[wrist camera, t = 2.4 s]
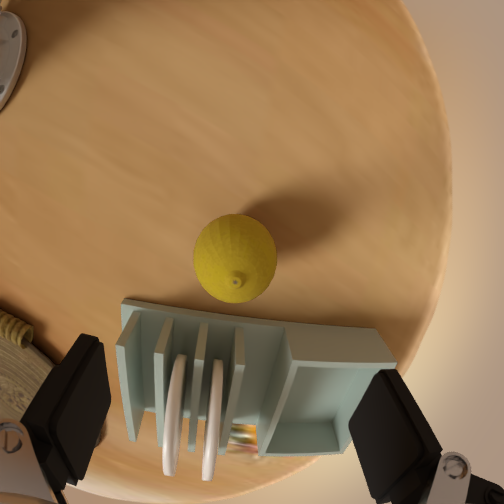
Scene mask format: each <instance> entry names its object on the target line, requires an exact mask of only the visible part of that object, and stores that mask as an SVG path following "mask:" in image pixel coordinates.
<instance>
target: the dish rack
mask: <svg viewBox="0 0 504 504" xmlns="http://www.w3.org/2000/svg"><path fill="white" fill-rule="evenodd" d="M121 318H122V333H121V335H120V337H119V339H118V341H117V343H116V354H117V364H118V372H119V380H120V388H121V395H122V401H123V408H124V414H125V420H126V425H127V430H128V436H129V441H134V442H136V440H137V436H138V433H139V429H140V425H141V421H142V417H143V414H144V410H145V411H150V412H155V413H156V424H157V438H158V447H163V471H164V475H168V476H175V473H176V468H177V462H178V456H179V448H180V440H181V432H182V423H183V417H184V418H190V422H189V438H188V451H190V452H195V444H196V433H197V423H198V419H199V420H206V422H205V434H204V446H203V462H202V480H205V481H212V479H213V475H214V469H215V463H216V455H217V446H218V455H225V452H226V448H227V443H228V439H229V435H230V430H231V426H232V423H237V424H251V425H256V433H257V446H258V456H315V455H331V454H342V453H343V452H344V451H345V449H346V448H347V447H348V445H349V444H350V442H351V441H352V437H351V434H350V431H349V428H348V423H349V420H350V418H351V416H352V415H353V413H354V411H355V409H356V408H357V406H358V404H359V402H360V401H361V399H362V397H363V395H364V393H365V391H366V390H367V388H368V386H369V384H370V382H371V380H372V378H373V376H374V375H375V374H376V373H378V371H379V370H381V369H395V367H396V365H397V363H398V362H397V361H396V359H395V358H394V356H393V354H392V353H391V351H390V350H389V348H388V347H387V345H386V344H385V342H384V341H383V339H382V338H381V336H380V335H379V333H378V332H377V330H376V329H375V328H358V327H344V326H330V325H318V324H307V323H296V322H286V321H277V320H268V319H259V318H250V317H242V316H234V315H227V314H219V313H212V312H205V311H198V310H191V309H185V308H178V307H172V306H166V305H160V304H154V303H148V302H142V301H137V300H131V299H126V298H124V300H123V301H122V303H121Z"/></svg>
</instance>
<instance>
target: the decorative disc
mask: <svg viewBox="0 0 504 504" xmlns="http://www.w3.org/2000/svg"><path fill="white" fill-rule="evenodd" d="M33 329H34V327H33V326H32V325H29V324H26V322H24V321H21V320H20V319H18V318H15V317H14V316H13V315H10V314H7V313H6V312H4V311H2V309H0V419H5V418H10V419H14V420H17V421H18V422H19V421H20V420H21V418H22V416H23V415H24V413H25V411H26V410H27V408H28V406H29V404H30V403H31V401H32V400H33V398H34V396H35V395H36V393H37V391H38V390H39V388H40V387H41V385H42V383H43V382H44V380H45V379H46V377H47V376H48V374H49V373H50V371H51V370H52V368H53V367H54V366H56V365H55V364H54V363H53V362H52V361H51V360H50V359H49V358H48V357H47V356H46V355H44V354H43V353H42V352H41V351H40V350H38V349H37V348H36V347H35V346H34V345H33V344H31V342H32V339H33ZM100 436H101V431H100V434H99V436H98V439H97V442H96V445H95V447H96V446H97V445H98V443H99V442H100ZM95 447H94V448H95Z"/></svg>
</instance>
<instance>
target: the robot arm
mask: <svg viewBox="0 0 504 504" xmlns="http://www.w3.org/2000/svg"><path fill="white" fill-rule="evenodd" d="M1 1H2V0H0V3H1ZM1 10H2V6H0V110H1V109H2V107H3V106H4V104H5V103H6V101H7V100H8V98H9V97H10V95H11V93H12V91H13V89H14V87H15V85H16V82H17V80H18V77H19V75H20V72H21V69H22V65H23V62H24V57H25V52H26V41H27V36H26V28H25V26H24V23H23V21H22V20H21V19H20V17H19V16H17V15H15V14H13V13H11V12H8V11H1ZM110 404H111V393H110V387H109V381H108V375H107V368H106V361H105V353H104V345H103V343H102V342H99V339H98V337H95V336H91V335H87V334H83V333H82V334H80V335H79V337H78V338H77V340H76V341H75V343H74V344H73V346H72V347H71V349H70V350H69V352H68V353H67V355H66V356H65V358H64V359H63V361H62V362H61V364H60V365H56V366H54V367H53V368H52V370H51V371H50V373H49V374H48V376H47V377H46V379H45V380H44V382H43V383H42V385H41V387H40V388H39V390H38V391H37V393H36V395H35V396H34V398H33V400H32V401H31V403H30V404H29V406H28V408H27V410H26V411H25V413H24V415H23V416H22V418H21V420H20V421H19V422H18V421H17V420H14V419H10V418H5V419H0V504H69V503H68V501H67V499H66V497H65V495H64V493H63V490H64V488H65V485H66V482H67V483H69V484H72V485H75V486H76V485H77V482H78V479H79V480H83V479H84V476H85V473H86V470H87V467H88V465H89V462H90V459H91V456H92V453H93V450H94V447H95V445H96V442H97V439H98V436H99V434H100V431H101V428H102V425H103V423H104V420H105V418H106V415H107V412H108V410H109V407H110ZM348 428H349V431H350V434H351V437H352V440H353V443H354V446H355V449H356V452H357V455H358V458H359V461H360V464H361V467H362V469H363V473H364V476H365V479H366V482H367V485H368V488H369V491H370V494H371V497H372V498H374V499H375V500H376V503H377V504H384V503H388V502H390V501H391V503H392V504H504V489H503V488H502V487H500V486H499V485H497V484H495V483H492V482H490V481H487V480H485V479H483V478H480V477H478V476H475V475H473V474H471V466H470V463H469V461H468V460H467V459H466V458H465V457H464V456H463V455H461V454H459V453H457V452H447V453H445V454H444V455H443V456H442V455H441V453H440V452H441V451H442V450H443V449H442V447H441V445H440V444H439V442H438V440H437V438H436V437H435V435H434V433H433V431H432V429H431V427H430V426H429V424H428V422H427V421H426V418H425V417H424V415H423V414H422V412H421V410H420V408H419V406H418V405H417V403H416V402H415V400H414V398H413V396H412V394H411V393H410V391H409V389H408V388H407V386H406V384H405V383H404V381H403V379H402V378H401V376H400V374H399V373H398V371H397V370H396V369H381V370H379V371H378V373H376V374H375V375H374V376H373V378H372V380H371V382H370V384H369V386H368V388H367V390H366V391H365V393H364V395H363V397H362V399H361V401H360V402H359V404H358V406H357V408H356V409H355V411H354V413H353V415H352V416H351V418H350V420H349V423H348Z"/></svg>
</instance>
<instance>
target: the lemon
mask: <svg viewBox="0 0 504 504" xmlns="http://www.w3.org/2000/svg"><path fill="white" fill-rule="evenodd" d="M276 266H277V250H276V247H275V244H274V240H273V238H272V236H271V235H270V233H269V232H268V230H267V229H266V228H265V227H264V226H263V225H262V224H261V223H260V222H259V221H257V220H255V219H253V218H251V217H249V216H245V215H241V214H229V215H225V216H221V217H219V218H217V219H215V220H214V221H212V222H210V223H209V224H208V225H207V226H206V227H205V228H204V229H203V230H202V232H201V234H200V235H199V237H198V239H197V241H196V245H195V248H194V268H195V272H196V275H197V278H198V280H199V282H200V283H201V285H202V287H203V288H204V289H205V290H206V291H207V292H208V293H209V294H210V295H211V296H213V297H215V298H216V299H218V300H221V301H224V302H228V303H242V302H247V301H249V300H252V299H254V298H256V297H257V296H259V295H260V294H262V292H263V291H264V290H265V289H266V288H267V287H268V286H269V284H270V282H271V280H272V279H273V277H274V274H275V270H276Z"/></svg>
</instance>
